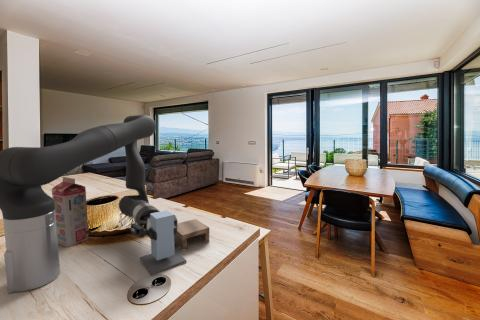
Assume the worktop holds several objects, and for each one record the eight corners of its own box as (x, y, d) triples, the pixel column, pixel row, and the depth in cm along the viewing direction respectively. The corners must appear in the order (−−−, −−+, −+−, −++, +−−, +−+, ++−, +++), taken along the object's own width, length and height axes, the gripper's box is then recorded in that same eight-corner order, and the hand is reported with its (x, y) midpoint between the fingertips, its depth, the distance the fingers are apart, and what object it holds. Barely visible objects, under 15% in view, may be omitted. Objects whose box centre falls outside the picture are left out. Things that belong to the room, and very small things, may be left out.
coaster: (151, 275, 58) (150, 273, 57) (140, 258, 65) (140, 256, 65) (186, 262, 64) (186, 260, 64) (172, 248, 72) (172, 246, 71)
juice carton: (77, 234, 80) (73, 175, 78) (88, 238, 77) (84, 177, 75) (55, 242, 74) (50, 178, 72) (67, 247, 71) (62, 180, 69)
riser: (182, 250, 71) (182, 235, 70) (170, 238, 78) (170, 225, 78) (209, 241, 77) (209, 227, 76) (195, 231, 85) (195, 218, 84)
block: (157, 260, 61) (156, 218, 60) (151, 253, 65) (150, 213, 63) (174, 254, 64) (173, 214, 63) (167, 247, 68) (167, 210, 67)
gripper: (123, 209, 70) (138, 227, 57) (167, 201, 79) (189, 215, 66) (124, 232, 70) (139, 255, 57) (167, 222, 80) (189, 239, 66)
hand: (165, 234), depth 62 cm, fingers closed on block, 5 cm apart
